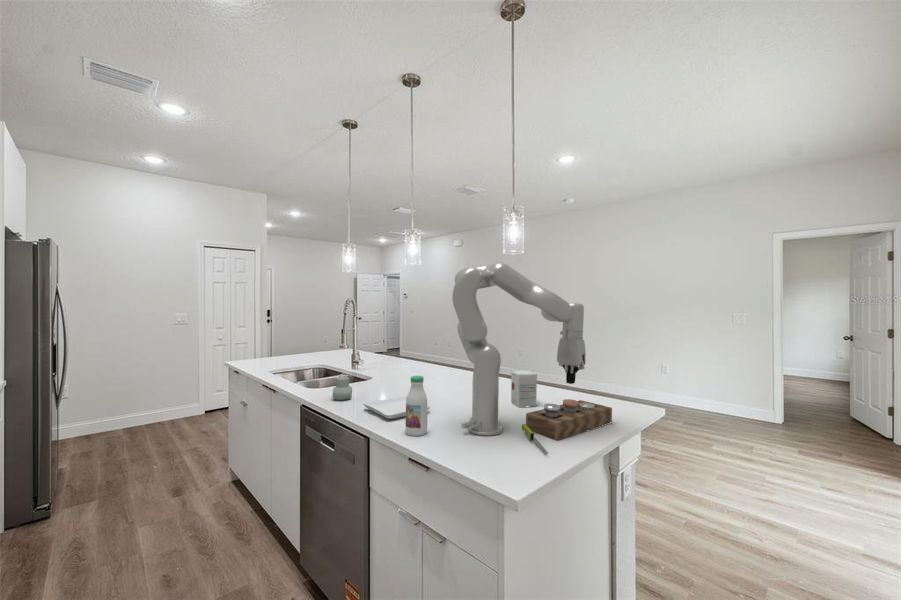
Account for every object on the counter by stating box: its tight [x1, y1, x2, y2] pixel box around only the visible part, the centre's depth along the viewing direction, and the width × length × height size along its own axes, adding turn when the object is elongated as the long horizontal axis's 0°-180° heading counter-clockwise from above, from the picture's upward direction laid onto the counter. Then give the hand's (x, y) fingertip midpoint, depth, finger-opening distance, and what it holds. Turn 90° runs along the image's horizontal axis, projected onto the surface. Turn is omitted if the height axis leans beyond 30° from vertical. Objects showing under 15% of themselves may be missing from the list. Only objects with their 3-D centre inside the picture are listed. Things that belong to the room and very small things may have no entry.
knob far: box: [580, 403, 595, 409], centre depth 153 cm, size 6×6×6 cm
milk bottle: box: [405, 375, 428, 437], centre depth 137 cm, size 8×8×20 cm
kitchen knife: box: [521, 423, 549, 456], centre depth 127 cm, size 22×1×3 cm, turn 9°
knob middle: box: [562, 399, 579, 414], centre depth 146 cm, size 6×6×6 cm
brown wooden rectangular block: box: [525, 399, 613, 442], centre depth 146 cm, size 34×14×6 cm, turn 127°
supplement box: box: [510, 370, 538, 408], centre depth 176 cm, size 9×9×15 cm
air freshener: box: [332, 376, 353, 401], centre depth 182 cm, size 11×8×10 cm
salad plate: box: [363, 396, 431, 420], centre depth 162 cm, size 21×21×3 cm
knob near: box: [543, 403, 560, 419], centre depth 140 cm, size 6×6×6 cm
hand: (570, 383), depth 147 cm, fingers closed
